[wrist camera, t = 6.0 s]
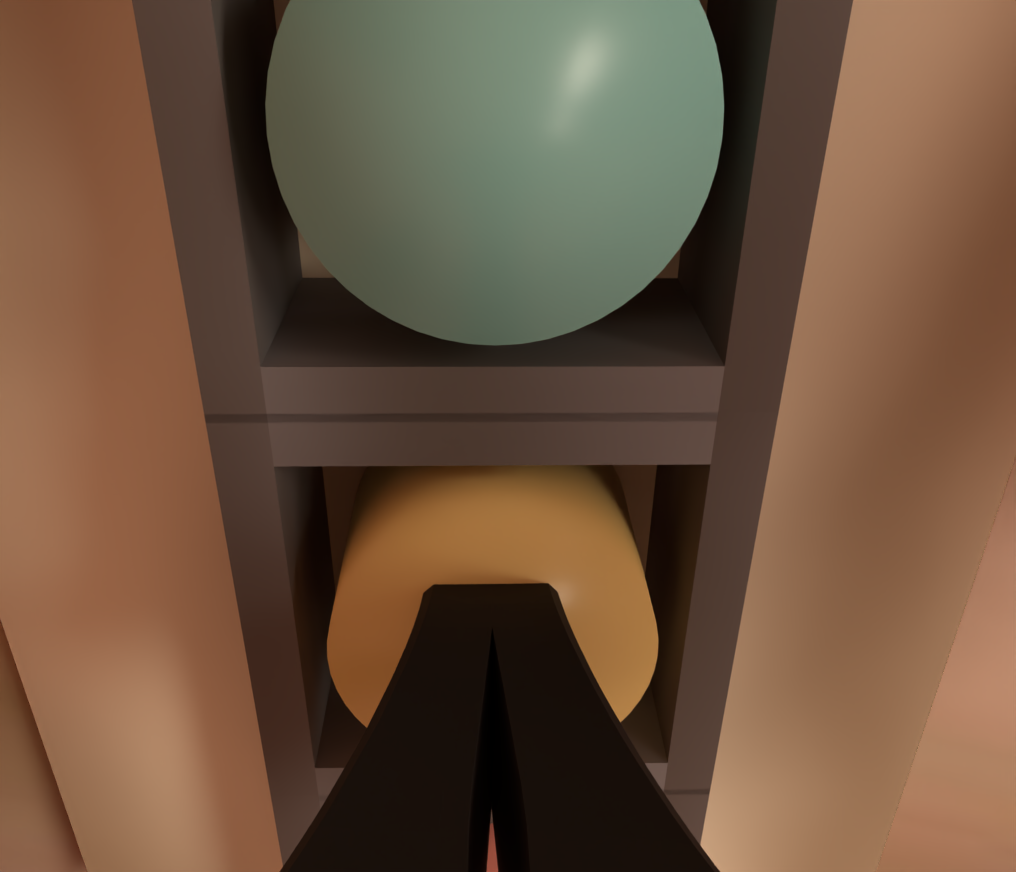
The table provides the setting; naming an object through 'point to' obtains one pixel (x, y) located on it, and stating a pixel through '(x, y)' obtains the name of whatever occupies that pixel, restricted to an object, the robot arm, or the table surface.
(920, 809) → the table surface
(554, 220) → the teal button
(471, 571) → the ochre button
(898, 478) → the button board
